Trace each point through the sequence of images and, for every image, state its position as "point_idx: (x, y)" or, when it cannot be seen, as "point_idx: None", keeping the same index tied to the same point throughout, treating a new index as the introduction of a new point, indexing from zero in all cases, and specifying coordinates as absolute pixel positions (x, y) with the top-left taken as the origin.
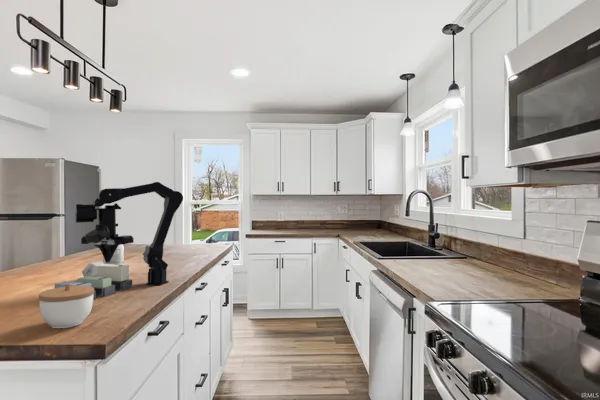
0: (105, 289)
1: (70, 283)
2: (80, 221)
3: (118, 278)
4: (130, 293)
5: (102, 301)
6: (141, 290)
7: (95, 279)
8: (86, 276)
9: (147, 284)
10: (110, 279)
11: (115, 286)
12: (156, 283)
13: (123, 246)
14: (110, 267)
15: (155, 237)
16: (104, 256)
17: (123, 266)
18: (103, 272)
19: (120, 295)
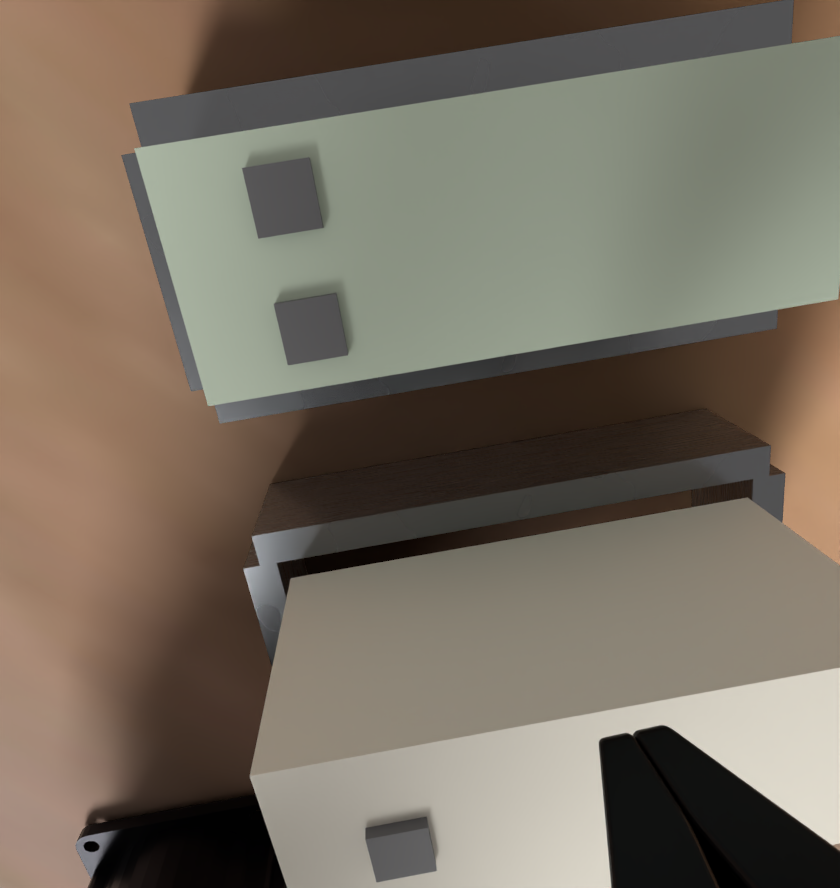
0: (134, 174)
1: None
2: None
3: (340, 594)
4: (29, 453)
5: None
6: (57, 610)
7: (366, 130)
8: (814, 276)
9: (243, 797)
10: (211, 375)
11: (350, 493)
12: (137, 845)
13: None
14: (560, 698)
15: None
16: (814, 883)
17: (275, 831)
18: (690, 590)
19: (41, 322)
